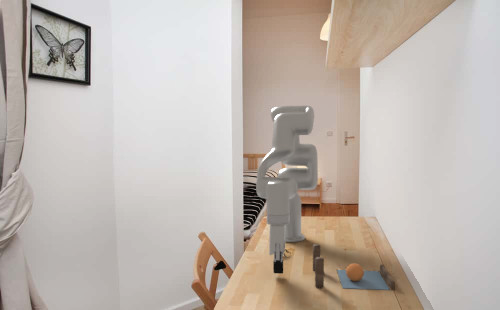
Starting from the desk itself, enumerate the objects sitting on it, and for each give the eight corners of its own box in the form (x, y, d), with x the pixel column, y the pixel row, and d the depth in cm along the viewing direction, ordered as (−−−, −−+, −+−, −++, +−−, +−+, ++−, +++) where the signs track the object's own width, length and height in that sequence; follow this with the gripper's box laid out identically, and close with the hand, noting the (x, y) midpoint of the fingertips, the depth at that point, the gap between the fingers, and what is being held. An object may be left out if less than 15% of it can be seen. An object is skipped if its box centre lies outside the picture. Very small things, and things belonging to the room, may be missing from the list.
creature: (285, 254, 145) (267, 253, 142) (288, 241, 145) (270, 239, 142) (294, 261, 138) (275, 260, 135) (297, 247, 138) (278, 245, 135)
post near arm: (312, 268, 127) (312, 243, 127) (320, 269, 127) (320, 244, 126) (313, 271, 125) (313, 246, 124) (320, 272, 124) (320, 246, 124)
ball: (364, 264, 119) (359, 280, 120) (348, 259, 120) (343, 274, 121) (367, 269, 114) (361, 286, 114) (349, 263, 115) (344, 280, 115)
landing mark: (336, 270, 126) (336, 269, 126) (378, 271, 124) (378, 271, 124) (342, 288, 112) (342, 287, 112) (389, 290, 110) (389, 289, 110)
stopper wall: (380, 271, 124) (380, 264, 124) (383, 271, 124) (383, 264, 124) (391, 290, 110) (391, 282, 110) (394, 290, 110) (394, 282, 110)
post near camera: (314, 284, 115) (315, 256, 114) (323, 284, 115) (323, 257, 114) (315, 288, 112) (315, 259, 112) (324, 288, 112) (324, 260, 111)
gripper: (268, 212, 127) (268, 263, 129) (265, 224, 113) (265, 281, 114) (289, 213, 127) (289, 264, 128) (289, 224, 112) (289, 282, 113)
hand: (278, 272), depth 121 cm, fingers closed
